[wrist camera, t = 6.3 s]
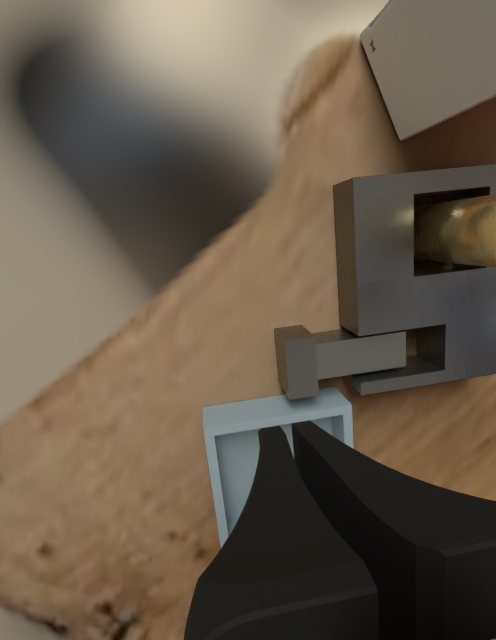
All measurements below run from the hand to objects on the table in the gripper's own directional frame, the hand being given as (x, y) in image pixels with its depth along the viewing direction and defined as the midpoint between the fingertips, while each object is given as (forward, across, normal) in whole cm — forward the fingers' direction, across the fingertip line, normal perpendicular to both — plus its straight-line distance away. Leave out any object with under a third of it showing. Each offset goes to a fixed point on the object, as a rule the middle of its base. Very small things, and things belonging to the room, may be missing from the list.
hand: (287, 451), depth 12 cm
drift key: (+9, -5, 0) cm, 11 cm away
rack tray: (+9, -1, +6) cm, 11 cm away
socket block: (+9, -10, -4) cm, 14 cm away
